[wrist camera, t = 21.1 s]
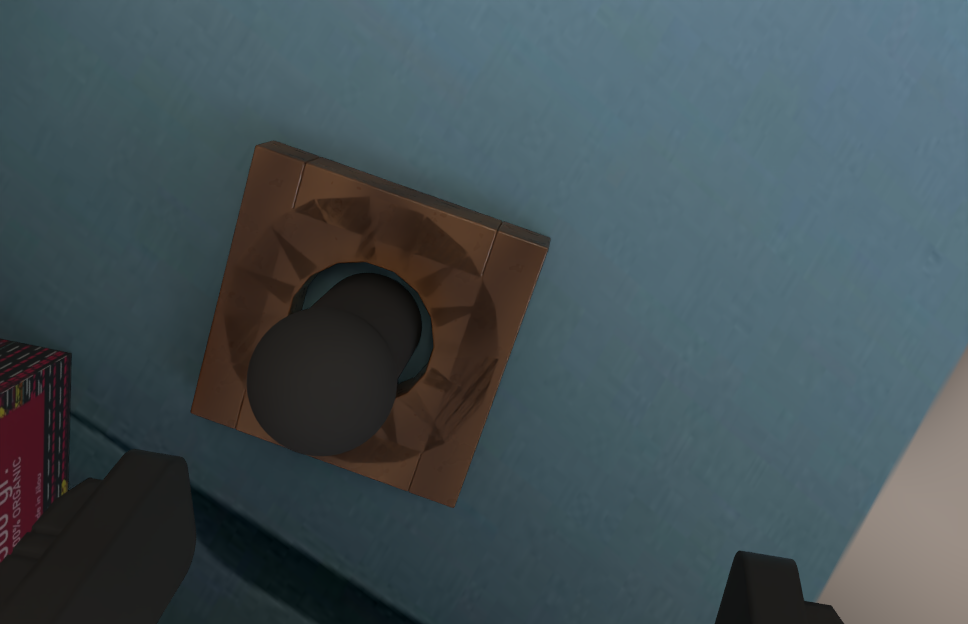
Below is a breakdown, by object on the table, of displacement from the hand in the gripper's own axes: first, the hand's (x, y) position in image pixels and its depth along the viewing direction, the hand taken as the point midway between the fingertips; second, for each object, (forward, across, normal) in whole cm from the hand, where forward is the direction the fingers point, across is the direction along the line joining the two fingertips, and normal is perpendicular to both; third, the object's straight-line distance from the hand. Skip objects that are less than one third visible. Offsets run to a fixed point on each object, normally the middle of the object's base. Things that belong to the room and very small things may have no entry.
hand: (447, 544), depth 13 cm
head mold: (+22, +7, +10) cm, 25 cm away
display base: (+22, +7, +10) cm, 25 cm away
